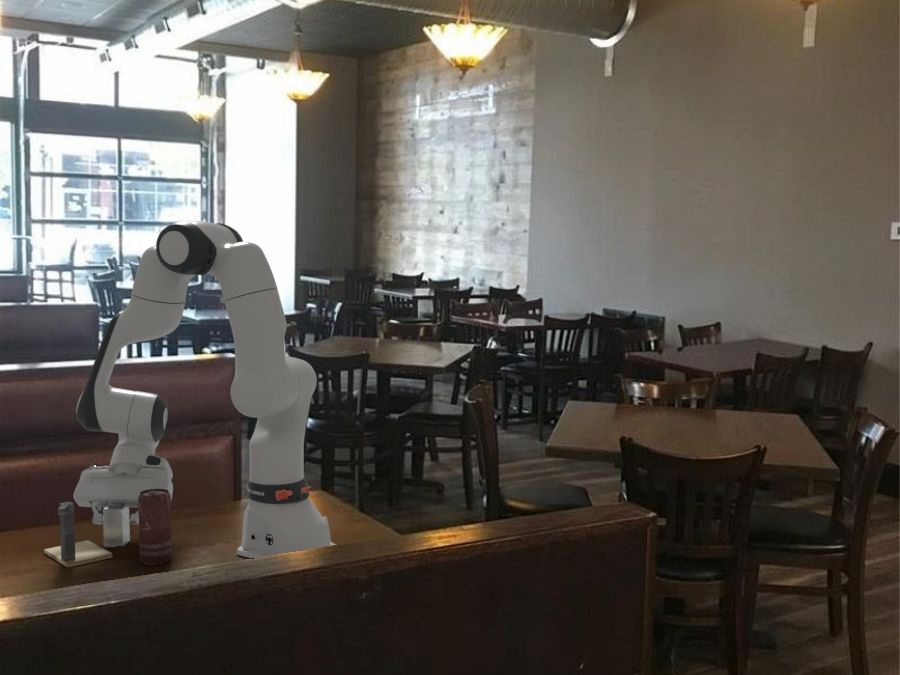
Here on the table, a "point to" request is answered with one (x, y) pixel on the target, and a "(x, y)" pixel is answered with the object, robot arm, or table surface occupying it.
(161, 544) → the can
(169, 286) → the robot arm
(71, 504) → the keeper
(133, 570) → the table surface
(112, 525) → the grey square pillar
